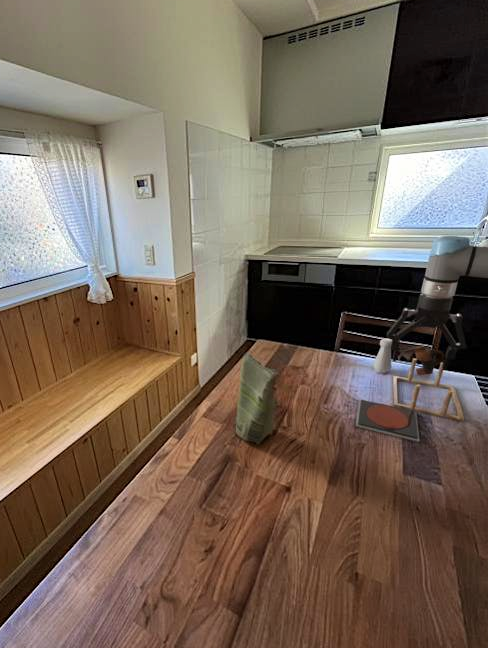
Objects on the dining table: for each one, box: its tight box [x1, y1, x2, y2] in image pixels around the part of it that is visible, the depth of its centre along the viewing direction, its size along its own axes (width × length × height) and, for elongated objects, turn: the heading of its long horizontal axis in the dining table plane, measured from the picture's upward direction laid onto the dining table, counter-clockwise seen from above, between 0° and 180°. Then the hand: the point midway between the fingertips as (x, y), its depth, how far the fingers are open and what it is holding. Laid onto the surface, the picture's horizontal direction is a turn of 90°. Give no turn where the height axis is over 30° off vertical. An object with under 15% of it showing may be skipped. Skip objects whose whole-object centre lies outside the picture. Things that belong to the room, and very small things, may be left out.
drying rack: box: [392, 357, 465, 422], centre depth 110 cm, size 18×19×9 cm
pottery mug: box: [396, 345, 445, 377], centre depth 101 cm, size 12×10×8 cm
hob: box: [355, 399, 421, 443], centre depth 102 cm, size 16×14×1 cm
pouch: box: [235, 352, 279, 445], centre depth 95 cm, size 11×12×25 cm
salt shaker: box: [373, 338, 392, 375], centre depth 125 cm, size 6×6×13 cm
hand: (418, 363), depth 101 cm, fingers closed on pottery mug, 12 cm apart
